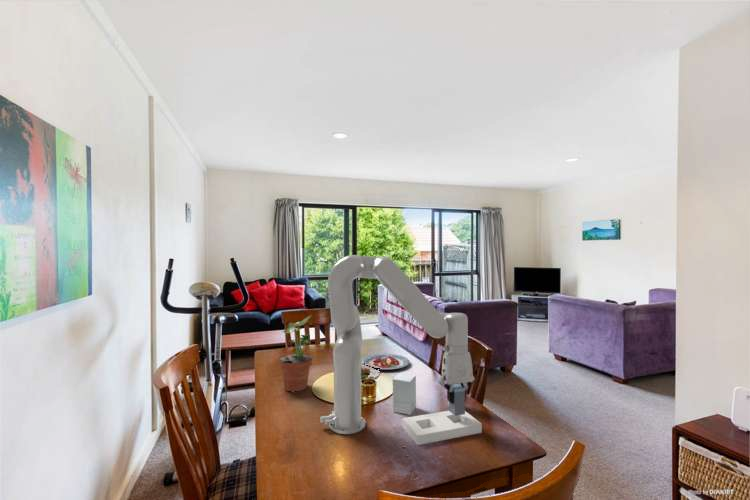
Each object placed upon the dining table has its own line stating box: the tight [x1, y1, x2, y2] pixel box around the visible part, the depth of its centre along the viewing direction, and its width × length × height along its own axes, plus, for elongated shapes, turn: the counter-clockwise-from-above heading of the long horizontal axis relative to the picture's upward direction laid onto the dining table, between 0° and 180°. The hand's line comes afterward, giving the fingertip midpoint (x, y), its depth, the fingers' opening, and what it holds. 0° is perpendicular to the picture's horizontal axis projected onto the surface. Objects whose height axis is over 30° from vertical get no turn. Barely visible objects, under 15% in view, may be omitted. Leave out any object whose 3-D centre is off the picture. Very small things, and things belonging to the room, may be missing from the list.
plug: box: [448, 384, 466, 416], centre depth 120 cm, size 4×4×9 cm
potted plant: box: [279, 314, 313, 392], centre depth 156 cm, size 16×15×35 cm
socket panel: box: [401, 410, 483, 446], centre depth 118 cm, size 24×12×3 cm, turn 109°
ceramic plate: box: [361, 353, 410, 371], centre depth 188 cm, size 26×26×3 cm
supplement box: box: [392, 372, 417, 416], centre depth 134 cm, size 7×7×13 cm
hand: (456, 400), depth 120 cm, fingers closed on plug, 4 cm apart
